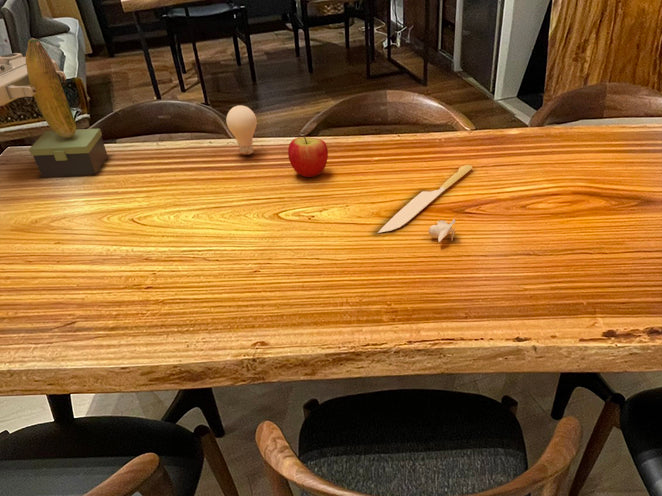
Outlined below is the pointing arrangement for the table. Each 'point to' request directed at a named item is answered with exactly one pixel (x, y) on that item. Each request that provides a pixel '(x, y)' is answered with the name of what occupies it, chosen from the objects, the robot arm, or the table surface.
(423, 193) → the knife
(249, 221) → the table surface
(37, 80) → the vegetable
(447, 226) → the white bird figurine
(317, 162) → the apple
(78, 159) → the block
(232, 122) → the light bulb
